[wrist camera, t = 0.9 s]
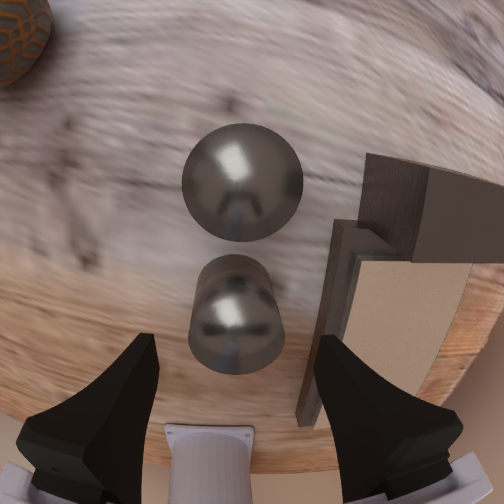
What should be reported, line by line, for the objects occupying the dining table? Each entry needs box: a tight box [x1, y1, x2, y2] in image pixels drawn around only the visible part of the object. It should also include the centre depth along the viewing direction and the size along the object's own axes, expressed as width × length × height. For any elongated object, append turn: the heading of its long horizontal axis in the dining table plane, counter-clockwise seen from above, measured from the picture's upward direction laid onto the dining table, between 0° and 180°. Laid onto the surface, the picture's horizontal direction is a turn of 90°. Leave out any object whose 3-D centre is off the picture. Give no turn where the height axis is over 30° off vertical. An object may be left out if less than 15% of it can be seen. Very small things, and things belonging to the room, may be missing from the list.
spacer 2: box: [188, 254, 285, 375], centre depth 16 cm, size 4×4×5 cm
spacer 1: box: [182, 123, 303, 242], centre depth 13 cm, size 4×4×5 cm
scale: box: [295, 153, 504, 430], centre depth 17 cm, size 21×11×6 cm, turn 177°
